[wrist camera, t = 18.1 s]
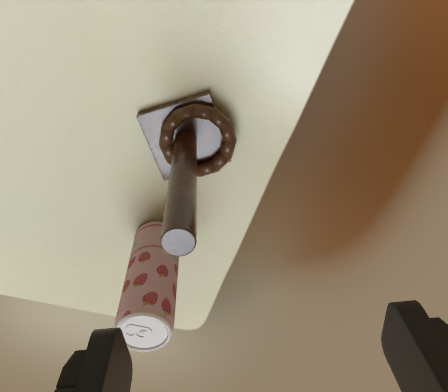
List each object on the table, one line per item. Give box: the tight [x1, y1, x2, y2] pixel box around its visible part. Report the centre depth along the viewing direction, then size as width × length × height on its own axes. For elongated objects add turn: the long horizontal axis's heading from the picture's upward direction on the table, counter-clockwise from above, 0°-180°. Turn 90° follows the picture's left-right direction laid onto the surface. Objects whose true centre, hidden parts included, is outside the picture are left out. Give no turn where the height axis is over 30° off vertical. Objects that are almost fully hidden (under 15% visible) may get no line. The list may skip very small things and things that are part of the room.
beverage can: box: [115, 221, 179, 352], centre depth 42 cm, size 6×6×15 cm
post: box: [137, 91, 231, 256], centre depth 33 cm, size 8×8×19 cm
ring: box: [159, 103, 236, 177], centre depth 40 cm, size 8×8×1 cm
